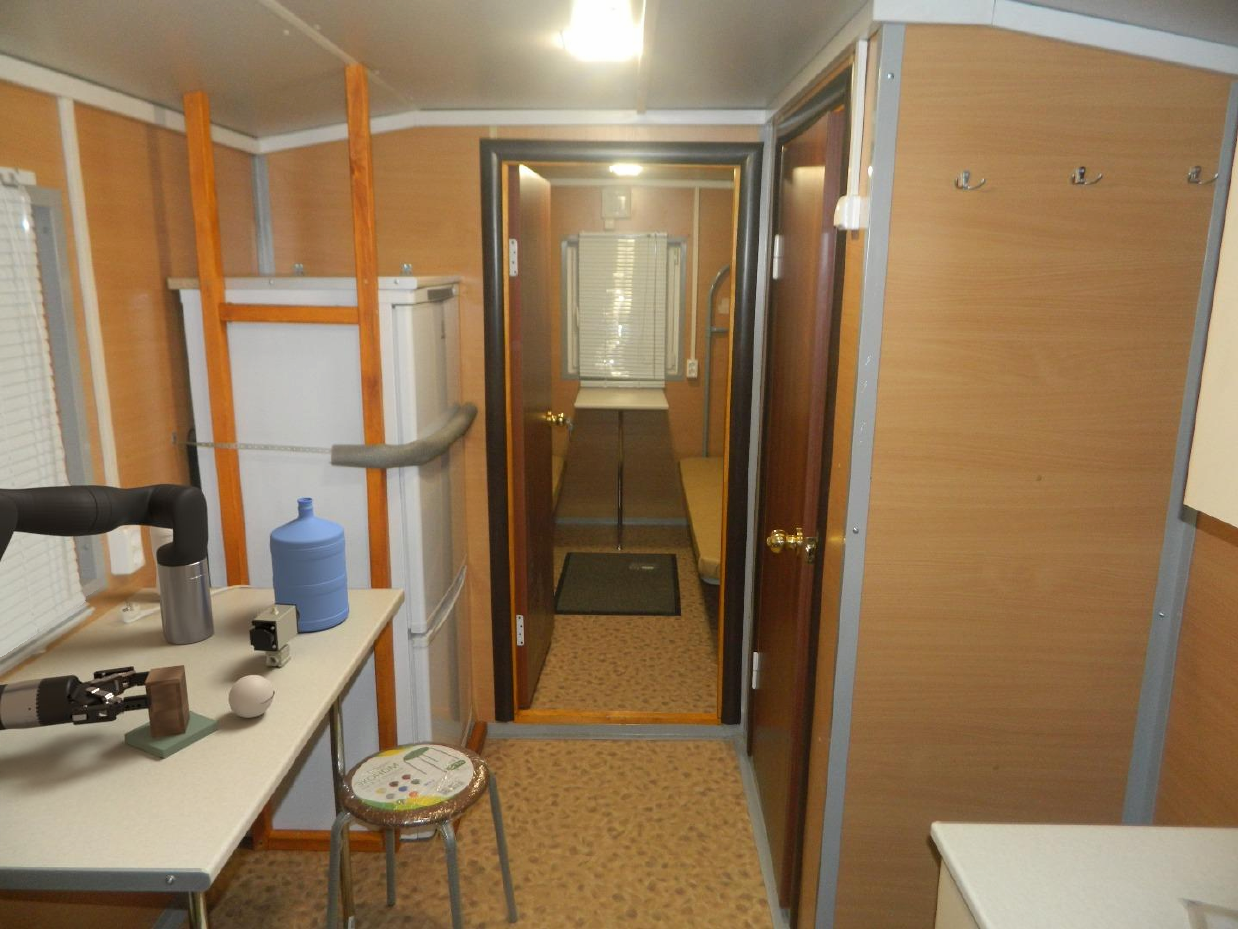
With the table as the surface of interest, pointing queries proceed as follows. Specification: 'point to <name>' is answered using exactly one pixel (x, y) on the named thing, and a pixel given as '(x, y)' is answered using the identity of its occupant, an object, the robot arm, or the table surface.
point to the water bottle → (159, 545)
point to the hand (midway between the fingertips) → (155, 688)
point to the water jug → (311, 568)
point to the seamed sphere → (251, 696)
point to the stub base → (171, 736)
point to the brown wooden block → (168, 701)
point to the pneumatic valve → (275, 632)
